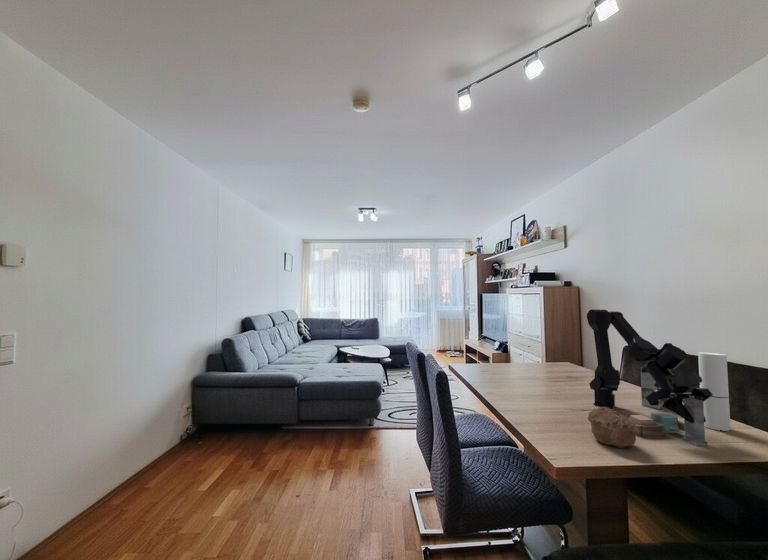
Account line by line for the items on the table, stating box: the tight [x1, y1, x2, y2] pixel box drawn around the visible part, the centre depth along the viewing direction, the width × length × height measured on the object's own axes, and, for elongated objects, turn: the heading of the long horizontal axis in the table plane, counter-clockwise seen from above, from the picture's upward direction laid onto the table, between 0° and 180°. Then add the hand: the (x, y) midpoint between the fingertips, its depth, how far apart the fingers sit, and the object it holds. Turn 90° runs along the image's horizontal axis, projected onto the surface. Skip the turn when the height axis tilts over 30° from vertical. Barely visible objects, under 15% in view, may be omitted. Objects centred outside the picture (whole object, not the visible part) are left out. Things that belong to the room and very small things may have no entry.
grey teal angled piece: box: [650, 398, 709, 446], centre depth 109 cm, size 14×5×13 cm, turn 6°
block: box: [629, 414, 654, 425], centre depth 113 cm, size 4×4×4 cm
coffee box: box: [640, 365, 664, 410], centre depth 141 cm, size 9×6×16 cm
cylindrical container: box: [697, 351, 732, 432], centre depth 117 cm, size 7×7×25 cm
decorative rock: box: [587, 406, 639, 449], centre depth 103 cm, size 13×11×10 cm
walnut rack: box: [635, 420, 685, 437], centre depth 113 cm, size 8×18×3 cm, turn 96°
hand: (698, 422), depth 103 cm, fingers open, 4 cm apart
